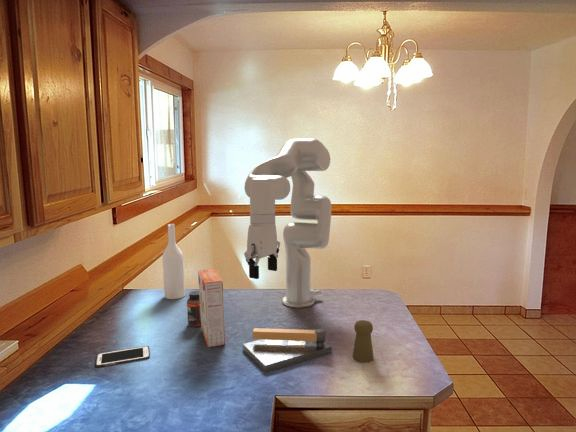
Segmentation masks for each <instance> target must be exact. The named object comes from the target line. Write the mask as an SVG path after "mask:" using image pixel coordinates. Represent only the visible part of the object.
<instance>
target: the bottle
mask: <svg viewBox="0 0 576 432" xmlns="http://www.w3.org/2000/svg"><path fill="white" fill-rule="evenodd" d="M167 237H168V238H167V239H168V243H167V246H166V247H165V249H164V251H163V253H162V270H163V271H162V275H163V287H164V288H163V289H164V290H163V291H164V298H165V299H167V300H179V299H182V298H184V297H185V295H186V290H185V287H186V286H185V267H184V265H185V264H184V253H183V252H182V250H181V249H180V247H179V246H178V244H177V241H176V226H175V223H168V224H167Z"/></svg>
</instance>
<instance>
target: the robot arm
mask: <svg viewBox="0 0 576 432" xmlns="http://www.w3.org/2000/svg"><path fill="white" fill-rule="evenodd" d="M330 165H331V155H330V152H329V150H328V149H327V146H325V145H324V144H323V142H322V141H320V140H318V139H316V138H292V139H288V140H286V141H285V142H284V144H283V145H282V147H281V148H280V149H279V152H278V153H277V154H276V156H274V157H272V158H269V159H268V160H266V161H264V162H262V163H260V164H258V165H256V166H255V167H253V168H252V170H251V171H249V174H248V175H247V178H246V179H245V182H244V192H245V195H246V196H247V197H248V198H249V220H250V222H249V223H250V224H249V225H248V230H247V238H246V239H247V241H246V242H247V243H246V251H245V252H244V253H243V255H244V257H245V261H246V263H247V266H248V273H249V275H248V276H249V278H250V279H254V280H258V279H260V266H259V262H260V259H264V258H266V257H267V270H269V271H274V272H277V271H278V258H279V253H280V246H281V241H278V236H277V226H276V201H279V200H280V201H281V200H284V199H286V198H287V197H288V196H289V194H290V192H291V191H292V192H291V199H290V209H289V210H290V211H289V212H290V217H292V218H294V219H296V220H302V221H303V220H304V221H317V223H314V222H298V221H297V222H296V221H295V222H290V223H288V224H286V225H285V226H284V228H283V232H282V235H283V241H284V249H285V283H286V284H285V291H286V292H285V293H286V294H285V296H284V297H282V300H281V301H282V304H283V305H284V306H287V307H290V308H306V307H307V308H308V307H310V306H312V305H314V304H315V296H319V295H322V290H321V289H314V288H312V287H311V285H312V284H311V283H312V282H311V277H312V276H311V270H312V269H311V267H312V266H311V256H310V254H309V253H308V251H307V249H315V250H317V249H318V250H319V249H321V250H322V249H325V248H327V246H328V244H329V241H330V234H331V233H330V231H331V222H332V221H331V220H332V210H333V209H332V201H331V200H330V198H329V197H328V196H324V195H315V182H314V180H313V179H312V177H311V175H310V174H309V173H308V172H324V171H326V170H328V169H329V167H330ZM290 177H291V182H292V190H291V183H290V180H289V179H288V178H290ZM254 259H255V260H254Z"/></svg>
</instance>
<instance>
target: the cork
mask: <svg viewBox="0 0 576 432" xmlns="http://www.w3.org/2000/svg"><path fill="white" fill-rule="evenodd" d="M353 327H354V328H353V329H354V331H355V338H354V339H355V340H354V345H353V352H352V359H353V361H355V362H357V363H360V364H368V363H371V362H373V361H374V358H375V357H374V350H373V339H372V335H371V334H372V333H373V330H374V327H373V324H372V322H371V321H369V320H366V319H363V320H357V321H355V323H354V326H353Z"/></svg>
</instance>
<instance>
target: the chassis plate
mask: <svg viewBox="0 0 576 432" xmlns="http://www.w3.org/2000/svg"><path fill="white" fill-rule="evenodd" d="M299 330H308V329H307V328H301V329H299ZM242 351H243V352H244V353H245V354H246V355H247V356H248V357H249V358H250V359H251V360H252V361H253V362H254V363H255V364H256V365H257V366H258V367H259V368H260V369H261V370H262V371H264V373H268V372H272V371H274V370H275V371H276V370H278V369H283V368H286V367H288V366H289V367H290V366H292V365H295V364H299V363H302V362H306V361H309V360H312V359H315V358H318V357H319V358H320V357H323V356H325V355H326V356H327V355H329V354H332V353H333V346H332V345H331V344H329V343H327V342H326V341H324V342H317V341H295V340H266V339H256V340H253V341H249V342H246V343H245V342H244V343H243V344H242Z"/></svg>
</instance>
